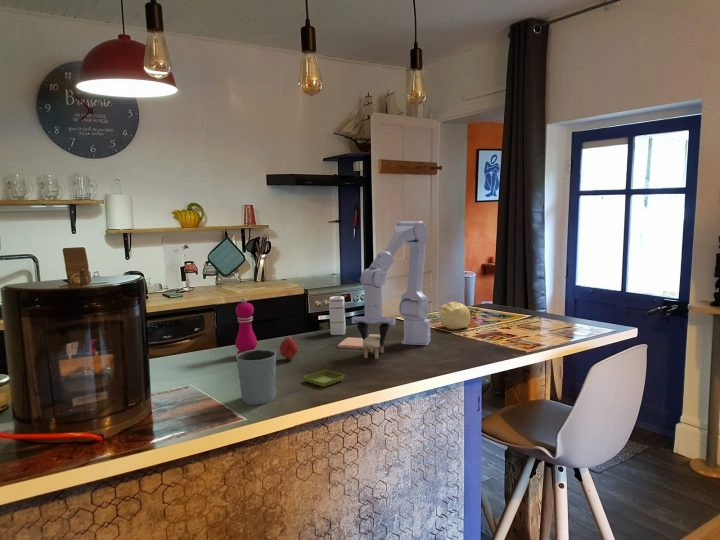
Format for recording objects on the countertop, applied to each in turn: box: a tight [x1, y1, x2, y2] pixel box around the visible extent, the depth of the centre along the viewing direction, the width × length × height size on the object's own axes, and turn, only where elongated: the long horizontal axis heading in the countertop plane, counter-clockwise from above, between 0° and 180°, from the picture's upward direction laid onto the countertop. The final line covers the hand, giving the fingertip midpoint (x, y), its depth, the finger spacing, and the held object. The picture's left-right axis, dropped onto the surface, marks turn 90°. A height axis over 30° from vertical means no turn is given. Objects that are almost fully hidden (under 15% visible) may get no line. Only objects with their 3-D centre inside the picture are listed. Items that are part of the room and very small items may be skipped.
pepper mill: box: [235, 297, 258, 356], centre depth 175 cm, size 7×7×20 cm
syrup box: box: [328, 295, 347, 336], centre depth 205 cm, size 6×6×14 cm
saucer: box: [303, 369, 346, 388], centre depth 148 cm, size 9×9×2 cm
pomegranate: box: [279, 335, 299, 361], centre depth 171 cm, size 6×6×8 cm
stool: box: [363, 333, 385, 360], centre depth 174 cm, size 9×5×6 cm, turn 164°
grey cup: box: [235, 348, 277, 406], centre depth 135 cm, size 10×10×12 cm
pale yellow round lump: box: [439, 301, 471, 330], centre depth 210 cm, size 11×12×11 cm
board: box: [337, 337, 380, 351], centre depth 188 cm, size 14×11×1 cm
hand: (373, 345), depth 174 cm, fingers closed on stool, 5 cm apart
